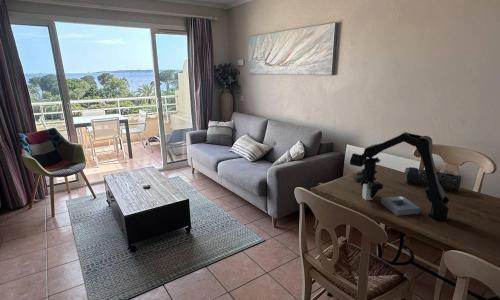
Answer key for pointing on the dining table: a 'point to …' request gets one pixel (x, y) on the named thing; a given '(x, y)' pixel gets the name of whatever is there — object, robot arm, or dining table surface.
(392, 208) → the socket plate
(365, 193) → the block
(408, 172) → the muzzle brake
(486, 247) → the dining table surface
